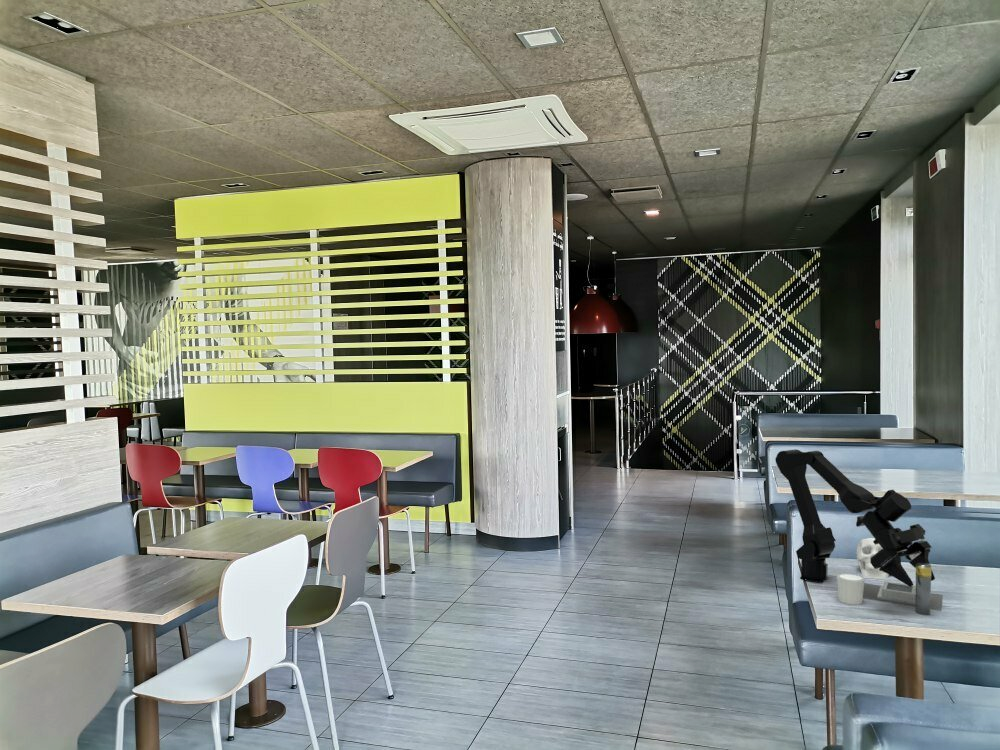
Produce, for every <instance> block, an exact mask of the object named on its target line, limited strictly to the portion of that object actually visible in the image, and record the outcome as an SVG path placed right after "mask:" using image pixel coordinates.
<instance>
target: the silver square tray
mask: <svg viewBox="0 0 1000 750" xmlns="http://www.w3.org/2000/svg"><path fill="white" fill-rule="evenodd" d="M880 586H881V587H880V590H879V593H878V595H877V599H879V600H885V601H892V602H898V603H904V604H910V605H915V597H916V585H913V586H911V587H910V586H908V585H906V584H905V583H897V582H894V581H893V582H892V581H884V582H883V585H880Z"/></svg>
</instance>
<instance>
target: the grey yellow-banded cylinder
mask: <svg viewBox="0 0 1000 750" xmlns="http://www.w3.org/2000/svg"><path fill="white" fill-rule="evenodd" d="M931 569H932V564H930V563H929V564H927V563H916V568H915V586H916V597H915V610H914V611H915V614H918V615H921V616H931V613H932V612H931V610H932V609H931V593H932V591H931V590H932V581H931Z"/></svg>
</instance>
